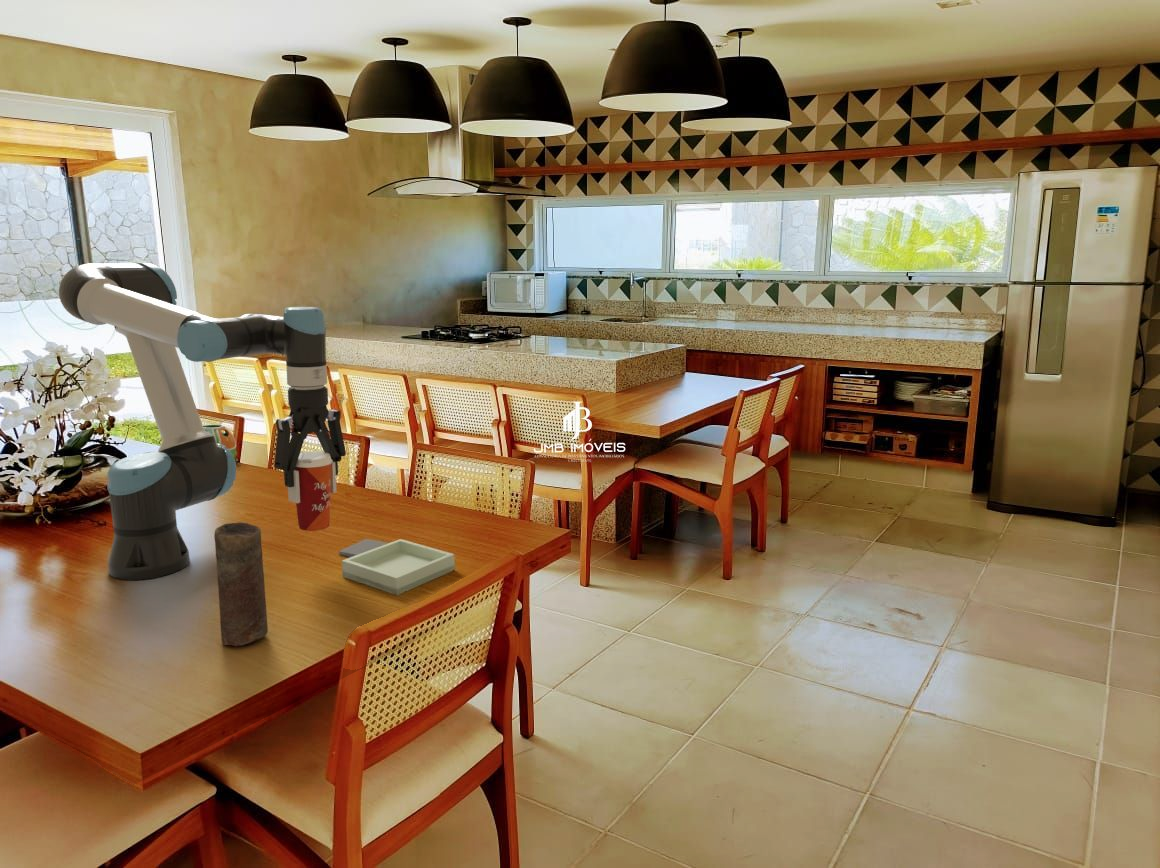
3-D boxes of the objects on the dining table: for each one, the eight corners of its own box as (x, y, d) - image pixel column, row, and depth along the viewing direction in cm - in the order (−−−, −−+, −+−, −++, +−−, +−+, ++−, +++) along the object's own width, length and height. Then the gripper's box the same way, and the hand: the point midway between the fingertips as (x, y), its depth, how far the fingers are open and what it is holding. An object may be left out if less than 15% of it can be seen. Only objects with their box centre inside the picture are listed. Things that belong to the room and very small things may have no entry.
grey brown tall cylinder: (255, 625, 147) (246, 518, 142) (278, 638, 142) (269, 527, 138) (213, 641, 141) (202, 529, 136) (235, 654, 136) (225, 539, 132)
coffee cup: (327, 533, 165) (325, 461, 162) (286, 532, 165) (283, 459, 162) (340, 520, 174) (338, 450, 170) (301, 518, 174) (298, 449, 170)
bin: (397, 595, 160) (396, 578, 159) (342, 576, 169) (341, 560, 168) (454, 570, 173) (454, 554, 172) (401, 554, 182) (400, 538, 181)
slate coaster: (372, 561, 177) (372, 557, 177) (339, 554, 181) (339, 551, 181) (398, 548, 185) (398, 544, 185) (366, 542, 189) (365, 538, 189)
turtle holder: (196, 456, 267) (193, 420, 264) (246, 459, 263) (243, 423, 261) (169, 465, 255) (165, 427, 253) (221, 469, 251) (217, 431, 249)
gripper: (272, 395, 153) (279, 512, 158) (362, 382, 169) (365, 488, 174) (248, 390, 157) (256, 505, 162) (338, 378, 174) (342, 482, 179)
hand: (312, 496), depth 168 cm, fingers closed on coffee cup, 8 cm apart
